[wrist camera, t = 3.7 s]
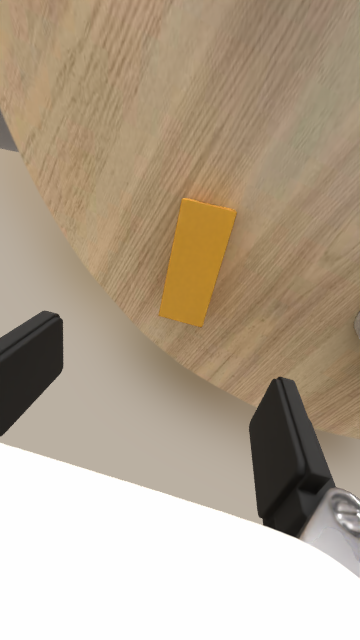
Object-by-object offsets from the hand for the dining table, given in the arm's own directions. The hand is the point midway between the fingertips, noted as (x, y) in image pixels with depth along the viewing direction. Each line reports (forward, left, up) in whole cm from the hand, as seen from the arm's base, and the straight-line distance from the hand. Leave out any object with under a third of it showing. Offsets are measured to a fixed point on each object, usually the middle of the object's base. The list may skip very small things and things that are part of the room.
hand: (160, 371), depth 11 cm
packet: (0, 0, -19) cm, 19 cm away
